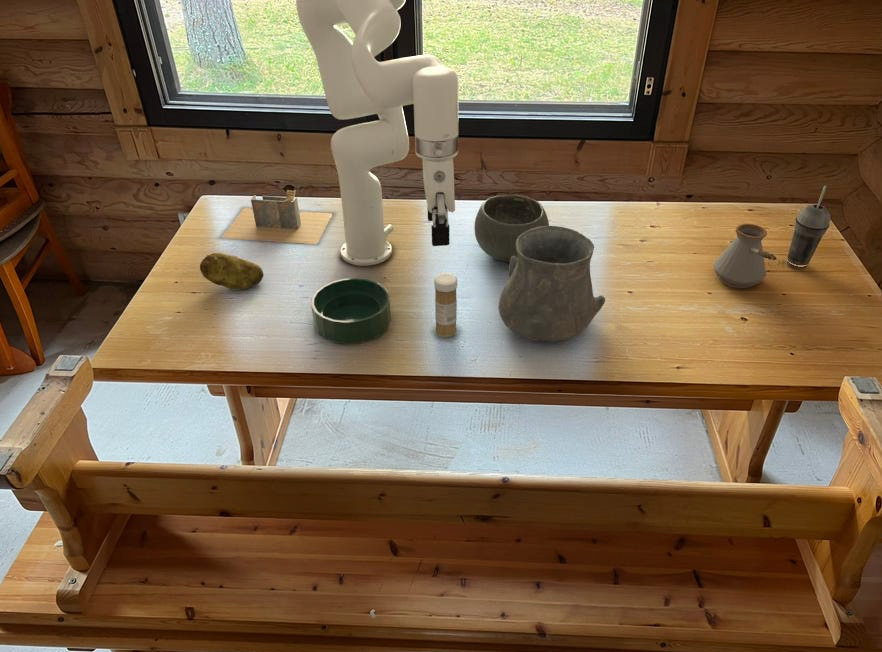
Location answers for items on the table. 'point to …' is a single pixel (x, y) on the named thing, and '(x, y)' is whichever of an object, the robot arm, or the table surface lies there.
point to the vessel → (550, 285)
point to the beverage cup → (808, 233)
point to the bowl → (506, 223)
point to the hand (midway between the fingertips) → (438, 232)
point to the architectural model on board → (278, 221)
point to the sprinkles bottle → (445, 304)
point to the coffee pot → (744, 258)
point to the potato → (230, 271)
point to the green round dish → (351, 310)
